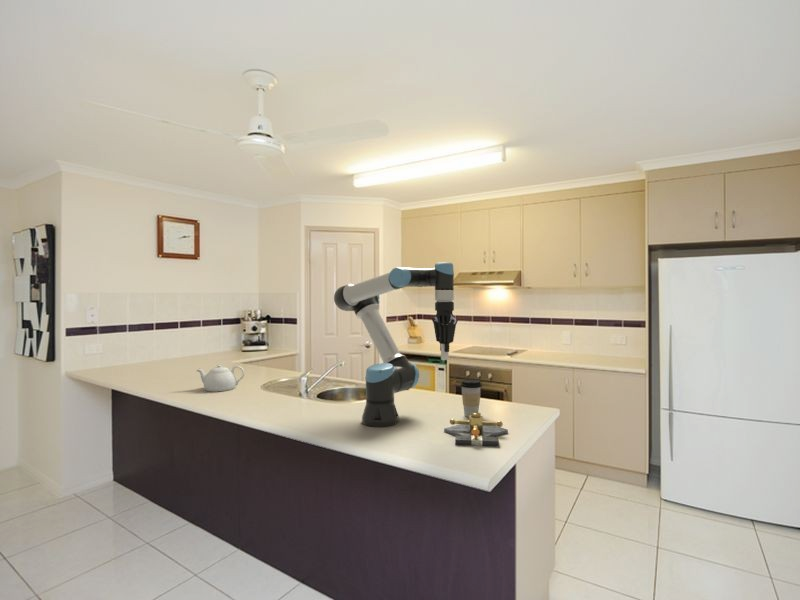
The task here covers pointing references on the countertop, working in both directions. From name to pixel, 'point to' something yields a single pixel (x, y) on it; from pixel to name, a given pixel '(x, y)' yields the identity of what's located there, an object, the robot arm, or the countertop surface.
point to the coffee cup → (470, 395)
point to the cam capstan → (476, 423)
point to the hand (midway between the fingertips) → (444, 359)
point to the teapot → (220, 378)
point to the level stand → (483, 439)
